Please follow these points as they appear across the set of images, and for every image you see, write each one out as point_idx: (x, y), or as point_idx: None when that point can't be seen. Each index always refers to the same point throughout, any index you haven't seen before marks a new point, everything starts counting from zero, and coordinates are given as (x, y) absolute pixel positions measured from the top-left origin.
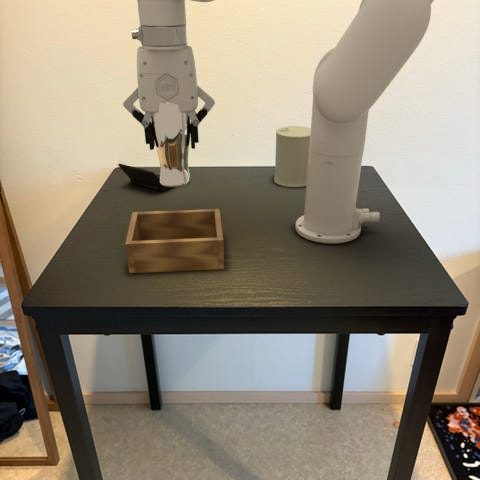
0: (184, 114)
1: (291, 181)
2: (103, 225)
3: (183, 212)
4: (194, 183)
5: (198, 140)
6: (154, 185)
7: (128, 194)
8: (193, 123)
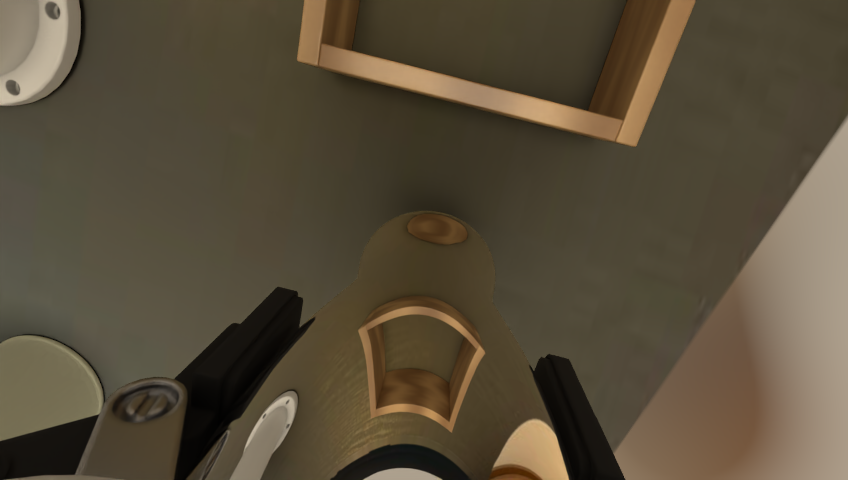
0: (201, 478)
1: (42, 353)
2: (660, 272)
3: (444, 75)
4: None
5: (230, 326)
6: None
7: None
8: (177, 404)
